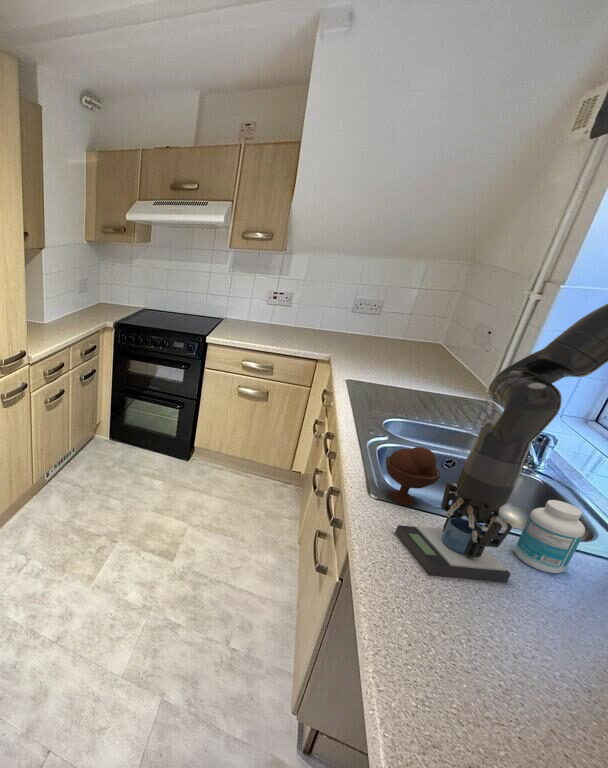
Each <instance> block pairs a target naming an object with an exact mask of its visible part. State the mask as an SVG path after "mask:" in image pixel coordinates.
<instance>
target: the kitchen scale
mask: <svg viewBox="0 0 608 768" xmlns="http://www.w3.org/2000/svg"><path fill="white" fill-rule="evenodd" d="M443 529H444V528H439V527H430V526H429V527H428V526H427V527H426V526H412V525H411V526H410V525H397V526H396V529H395V532H394V534H395V535H396V536H397V538H398V539H399V540H400V541H401V542H402V543H403V545H404V546H405V548H406V549H407V550H408V551H409V552H410V554H411V555H412V556H413V557H414V559H416V560H417V562H418V563H420V565H421V566H422V568H423V569H424V571H426V573H427V574H428V575H429V576H435V577H436V576H437V577H446V578H447V577H448V578H458V579H467V580H468V579H469V580H478V581H489V582H496V583H497V582H498V583H508V581H509V579H510V577H511V575H512V573H511V572H510V571H509V570H508V569H507V567H505V566H504V565H503V564H502V563H501V562H500V561H499V560H498V559H497V558H495V556H493V554H492V553H490V552H489V550H487V549H486V547H485V548H484V551H483V553H482V555H481V556H480V557H477V558H475V557H468V556H467V555H464V554H461V553H458V552H456V551H454V550H452V549H450V548H449V547H448V546H447V545H446V544H445V543H444V542H443V540H442V535H443V533H444V532H443Z"/></svg>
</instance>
